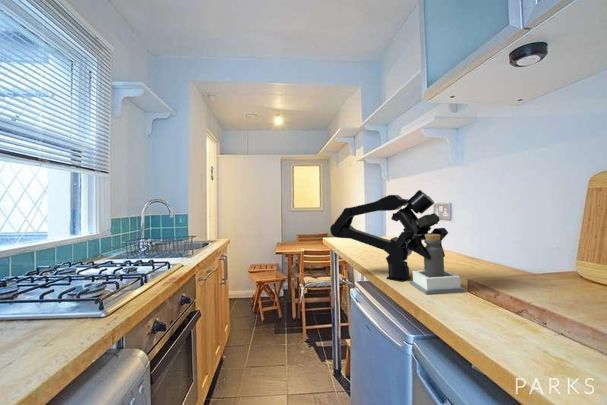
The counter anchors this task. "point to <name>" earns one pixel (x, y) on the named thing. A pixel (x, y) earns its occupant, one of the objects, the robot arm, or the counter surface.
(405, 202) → the robot arm
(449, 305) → the counter surface
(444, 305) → the counter surface
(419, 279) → the holder
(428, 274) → the bottle
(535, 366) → the counter surface
